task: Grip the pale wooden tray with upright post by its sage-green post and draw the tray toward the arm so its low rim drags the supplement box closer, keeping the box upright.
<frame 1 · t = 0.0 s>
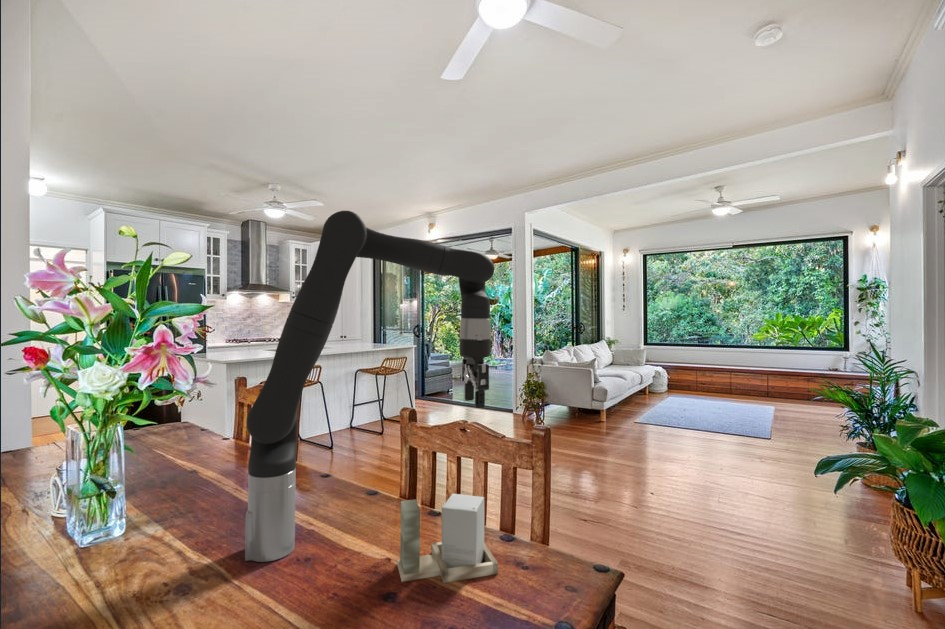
hand: (474, 403, 108), 29 cm above the table, tool pointing down, fingers open, 8 cm apart
supplement box: (463, 564, 90), resting in tray with upright post
tray with upright post: (445, 533, 89), point 7 cm above the table, slide at 0.0 cm, touching supplement box
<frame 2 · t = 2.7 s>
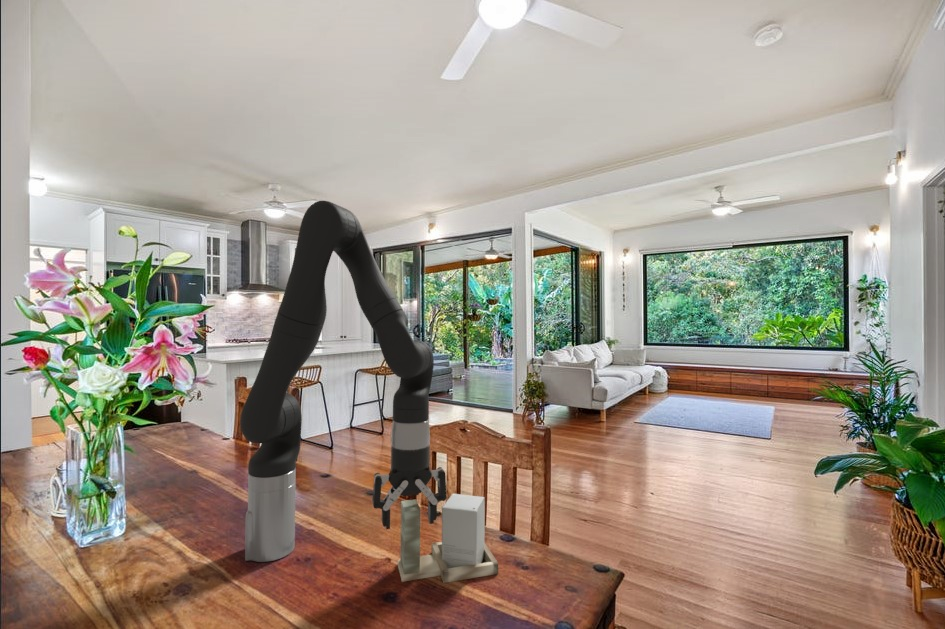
hand: (409, 524, 87), 9 cm above the table, tool pointing down, fingers open, 8 cm apart
supplement box: (463, 564, 90), resting in tray with upright post, touching gripper
everything else where it was.
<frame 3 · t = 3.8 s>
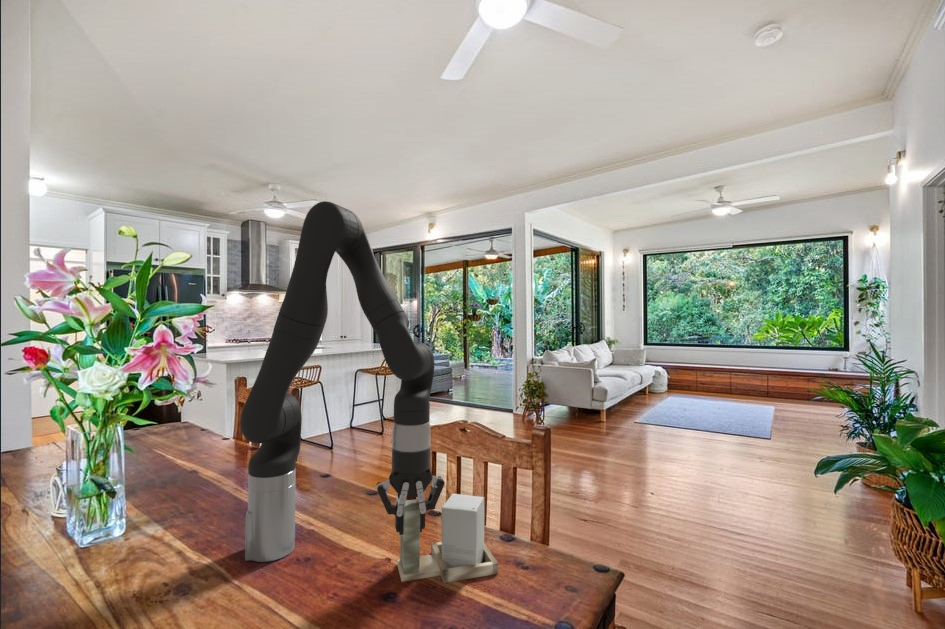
hand: (410, 531, 87), 8 cm above the table, tool pointing down, fingers closed on tray with upright post, 3 cm apart
supplement box: (463, 564, 90), resting in tray with upright post
tray with upright post: (445, 533, 89), point 7 cm above the table, slide at 0.0 cm, touching gripper, supplement box
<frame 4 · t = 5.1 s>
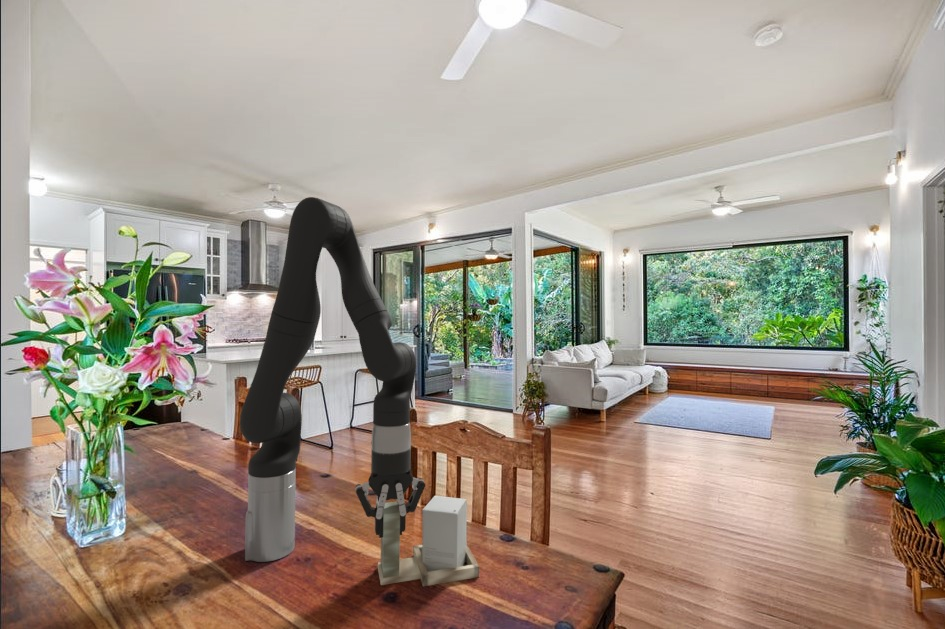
hand: (390, 534, 86), 8 cm above the table, tool pointing down, fingers closed on tray with upright post, 3 cm apart
supplement box: (444, 567, 89), resting in tray with upright post
tray with upright post: (426, 536, 88), point 7 cm above the table, slide at 3.9 cm, touching gripper, supplement box
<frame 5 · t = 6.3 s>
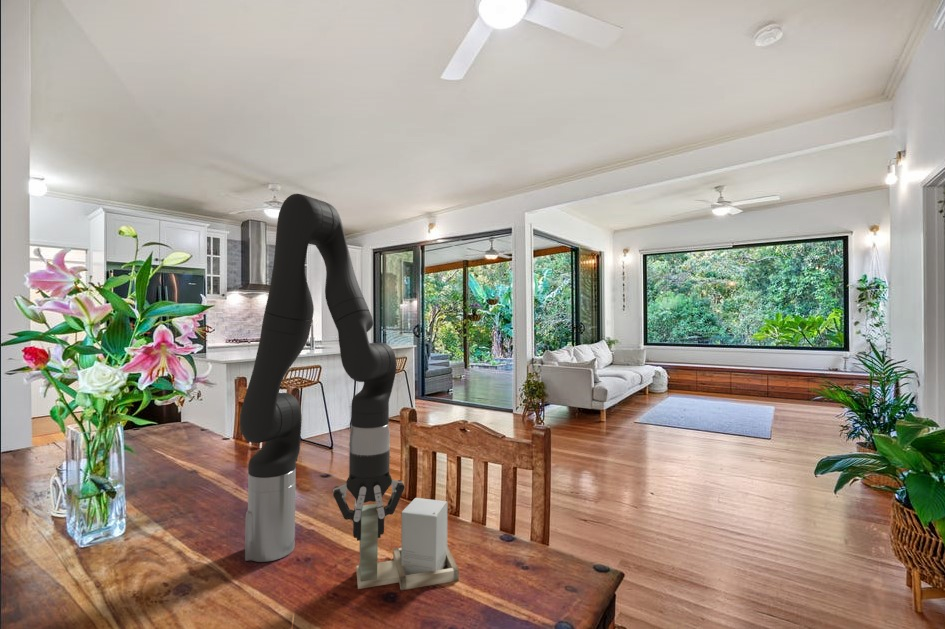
hand: (368, 536, 85), 8 cm above the table, tool pointing down, fingers closed on tray with upright post, 3 cm apart
supplement box: (424, 570, 88), resting in tray with upright post
tray with upright post: (406, 538, 87), point 7 cm above the table, slide at 8.0 cm, touching gripper, supplement box
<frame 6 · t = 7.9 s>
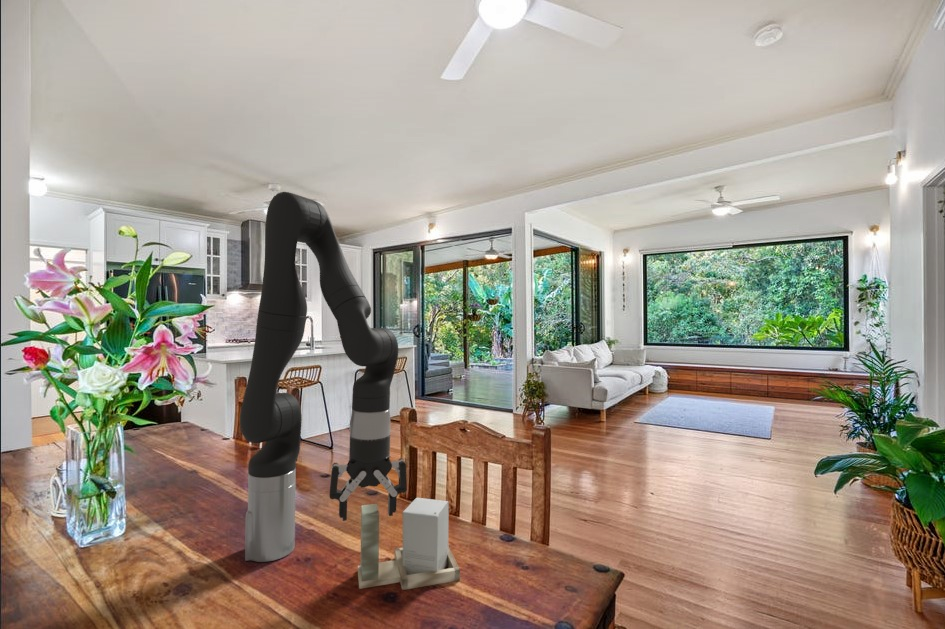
hand: (367, 516, 85), 12 cm above the table, tool pointing down, fingers open, 8 cm apart
tray with upright post: (407, 538, 87), point 7 cm above the table, slide at 7.8 cm, touching supplement box
everything else where it was.
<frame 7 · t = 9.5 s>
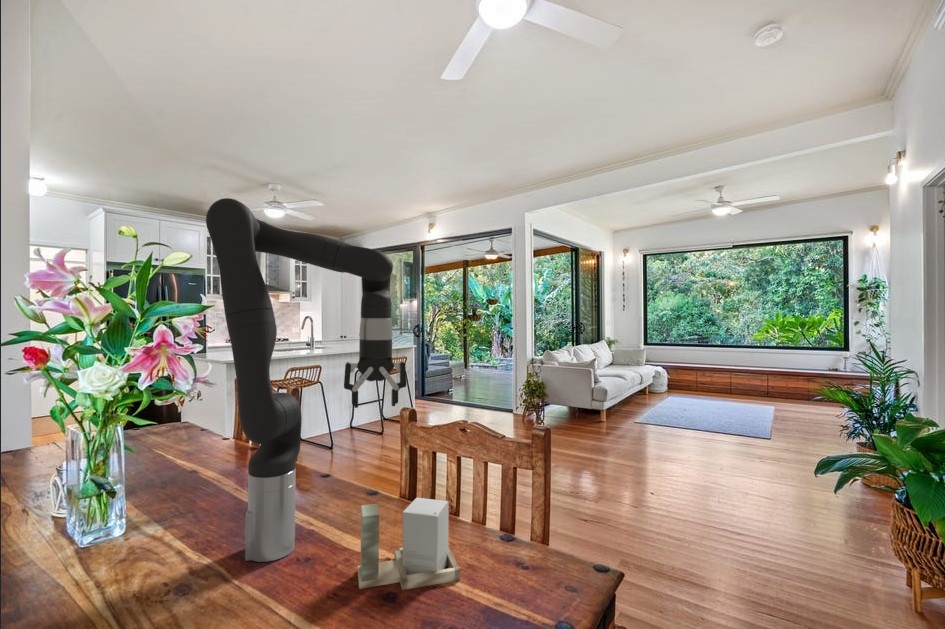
hand: (375, 406, 104), 29 cm above the table, tool pointing down, fingers open, 8 cm apart
nothing on the table moved.
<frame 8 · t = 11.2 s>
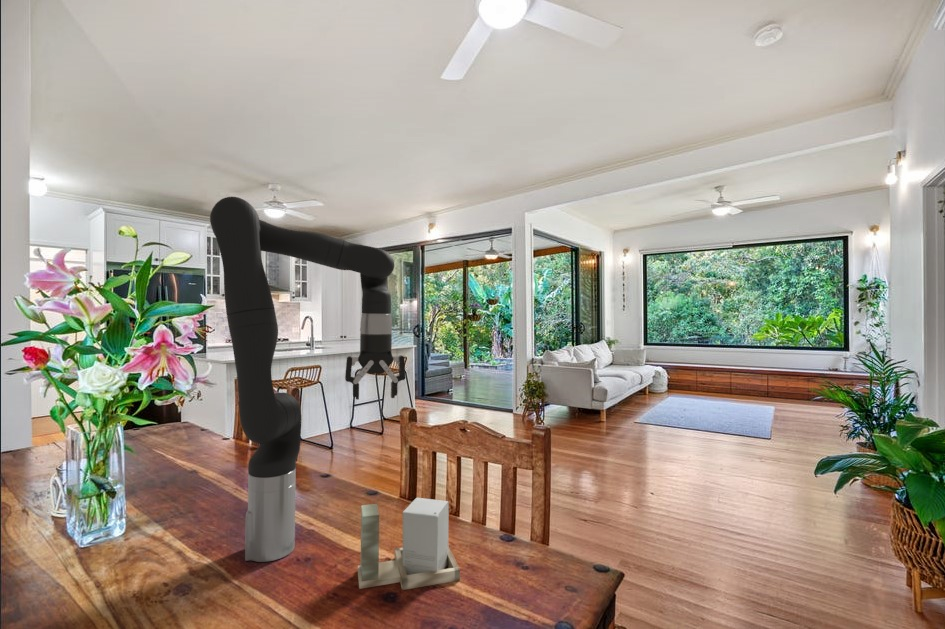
hand: (375, 398, 109), 30 cm above the table, tool pointing down, fingers open, 8 cm apart
nothing on the table moved.
at the end: tray with upright post slide at 7.8 cm; supplement box inside the target area (0.7 cm from its centre), resting in tray with upright post; supplement box tilted 0° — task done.
